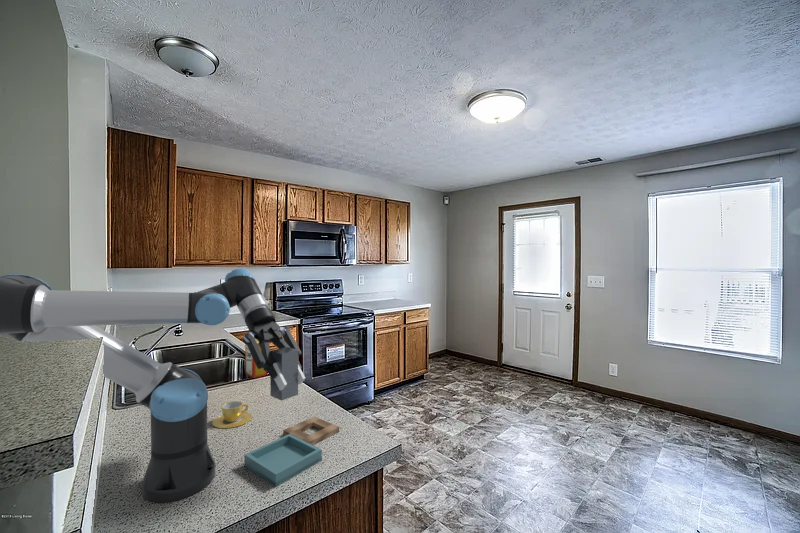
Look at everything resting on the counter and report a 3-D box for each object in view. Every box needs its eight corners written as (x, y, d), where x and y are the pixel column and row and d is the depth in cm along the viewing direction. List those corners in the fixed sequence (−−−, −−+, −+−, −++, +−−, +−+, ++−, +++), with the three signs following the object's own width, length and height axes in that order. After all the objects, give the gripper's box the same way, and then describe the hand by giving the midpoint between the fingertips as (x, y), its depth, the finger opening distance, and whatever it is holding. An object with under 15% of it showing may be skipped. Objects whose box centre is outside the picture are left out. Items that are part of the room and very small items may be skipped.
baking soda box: (267, 375, 164) (267, 341, 164) (253, 378, 160) (252, 343, 159) (259, 370, 171) (259, 337, 171) (245, 373, 167) (245, 339, 166)
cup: (217, 433, 111) (217, 416, 111) (208, 419, 120) (208, 403, 120) (256, 422, 119) (256, 406, 118) (245, 410, 128) (245, 395, 128)
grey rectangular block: (281, 400, 91) (281, 353, 91) (270, 395, 94) (270, 350, 94) (298, 394, 95) (298, 349, 95) (286, 390, 98) (286, 346, 98)
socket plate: (308, 447, 103) (308, 442, 103) (283, 434, 110) (283, 430, 110) (339, 431, 112) (339, 426, 112) (314, 420, 119) (314, 416, 119)
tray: (276, 486, 85) (276, 474, 85) (244, 465, 93) (244, 454, 93) (321, 460, 96) (321, 449, 96) (289, 443, 105) (289, 433, 105)
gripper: (279, 318, 110) (314, 382, 101) (220, 327, 96) (255, 403, 87) (289, 302, 107) (326, 367, 98) (231, 309, 93) (267, 386, 83)
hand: (293, 384), depth 92 cm, fingers closed on grey rectangular block, 5 cm apart
